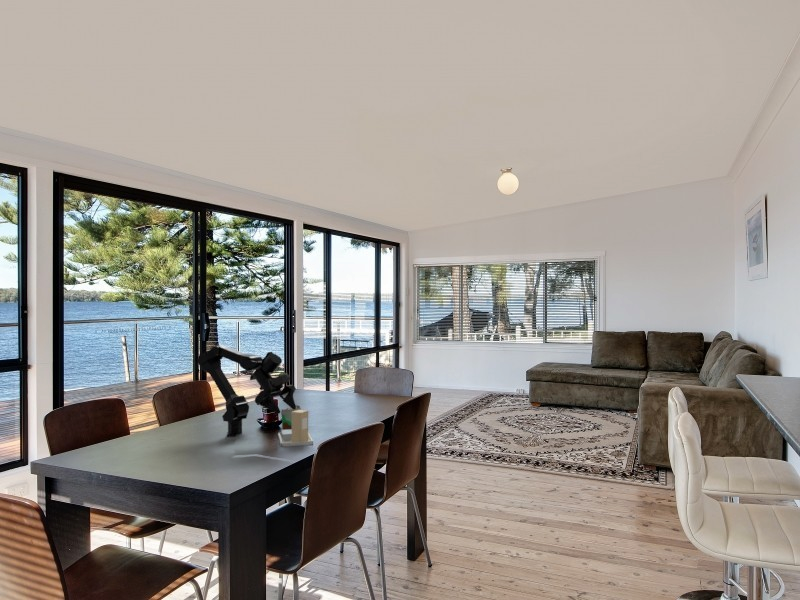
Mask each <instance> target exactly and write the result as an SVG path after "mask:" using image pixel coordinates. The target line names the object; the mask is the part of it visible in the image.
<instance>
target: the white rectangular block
mask: <svg viewBox="0 0 800 600" xmlns="http://www.w3.org/2000/svg"><path fill="white" fill-rule="evenodd" d="M281 433H282V440H283V441H289V440H292V429H290V430H282V429H281Z"/></svg>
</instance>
